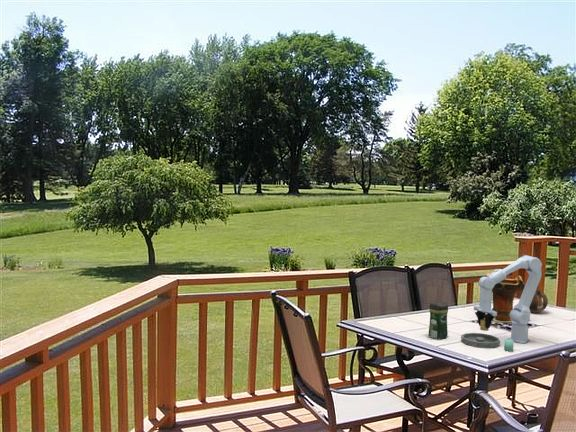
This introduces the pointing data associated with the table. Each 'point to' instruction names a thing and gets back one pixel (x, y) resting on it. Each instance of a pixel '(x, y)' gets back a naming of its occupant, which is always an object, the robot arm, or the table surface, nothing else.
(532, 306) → the wooden sphere
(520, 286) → the decorative vase
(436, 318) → the coffee jar
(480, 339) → the ring tray
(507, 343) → the teal cylinder
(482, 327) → the tan wooden cylinder
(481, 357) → the table surface
